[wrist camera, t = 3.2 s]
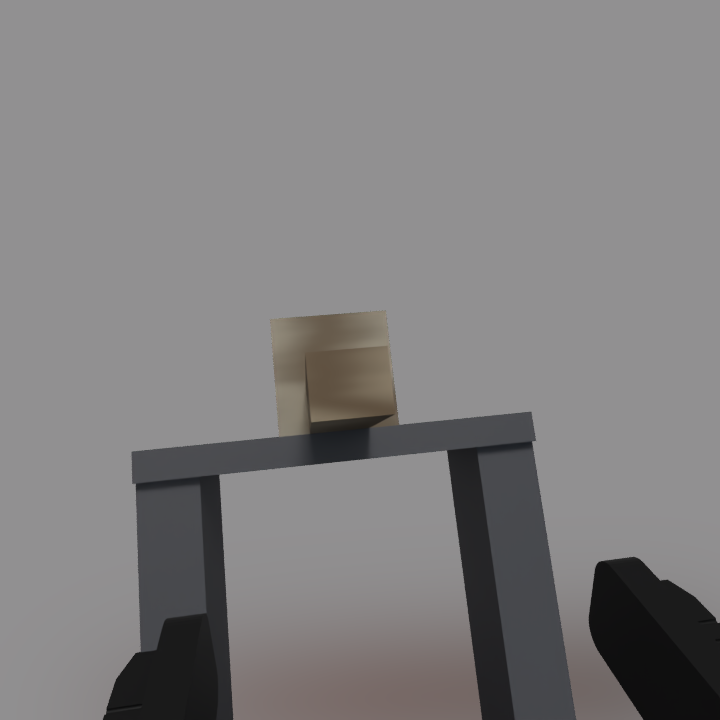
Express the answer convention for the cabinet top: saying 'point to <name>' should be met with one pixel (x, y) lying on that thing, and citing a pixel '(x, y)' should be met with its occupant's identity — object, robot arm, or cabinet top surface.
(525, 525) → the wooden stand
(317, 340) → the wooden mallet
